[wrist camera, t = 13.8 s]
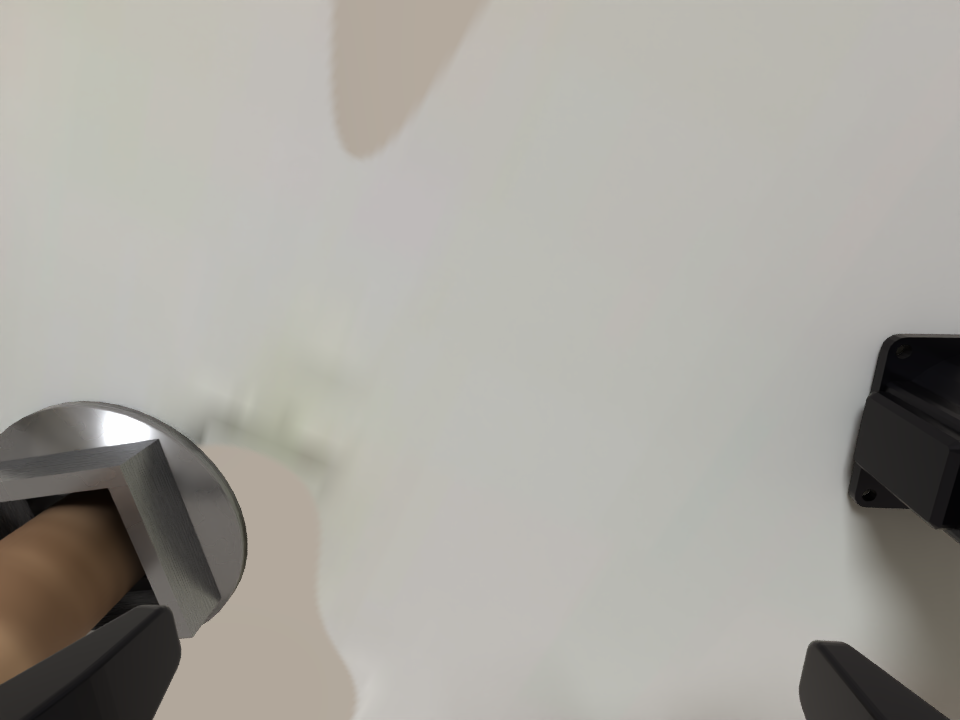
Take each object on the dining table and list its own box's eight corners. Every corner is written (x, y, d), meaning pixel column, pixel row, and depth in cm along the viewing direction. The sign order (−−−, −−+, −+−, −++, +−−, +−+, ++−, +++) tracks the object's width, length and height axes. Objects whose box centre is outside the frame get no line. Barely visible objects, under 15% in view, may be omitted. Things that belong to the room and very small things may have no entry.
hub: (194, 382, 21) (147, 410, 19) (280, 618, 25) (250, 670, 22) (-55, 421, 23) (-132, 452, 20) (57, 638, 26) (4, 690, 24)
